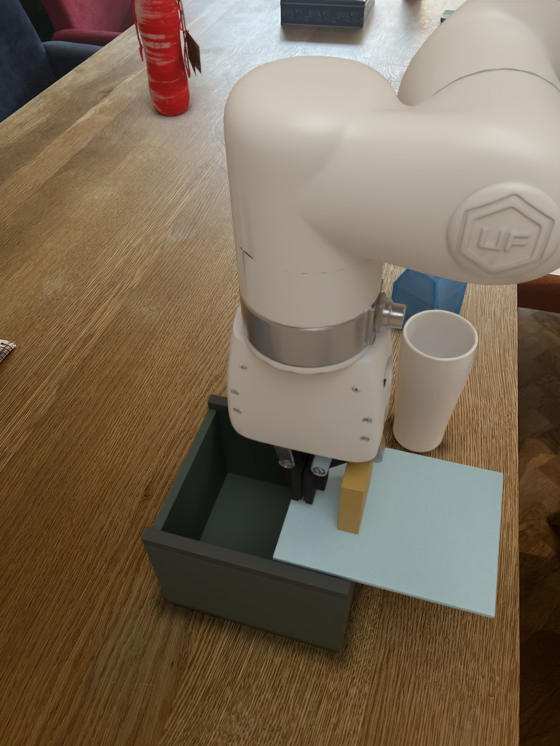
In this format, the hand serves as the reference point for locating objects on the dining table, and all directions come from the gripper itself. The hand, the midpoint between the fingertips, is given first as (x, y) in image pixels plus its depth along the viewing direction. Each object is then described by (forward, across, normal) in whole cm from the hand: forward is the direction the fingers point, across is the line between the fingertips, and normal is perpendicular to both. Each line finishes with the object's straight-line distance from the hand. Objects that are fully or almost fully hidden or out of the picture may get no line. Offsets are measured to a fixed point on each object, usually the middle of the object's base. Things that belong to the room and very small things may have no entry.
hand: (307, 486), depth 47 cm
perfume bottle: (+13, -6, -35) cm, 38 cm away
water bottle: (+13, +48, -84) cm, 98 cm away
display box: (+12, +3, 0) cm, 13 cm away
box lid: (+1, -7, 0) cm, 7 cm away
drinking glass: (+13, -8, -17) cm, 23 cm away
